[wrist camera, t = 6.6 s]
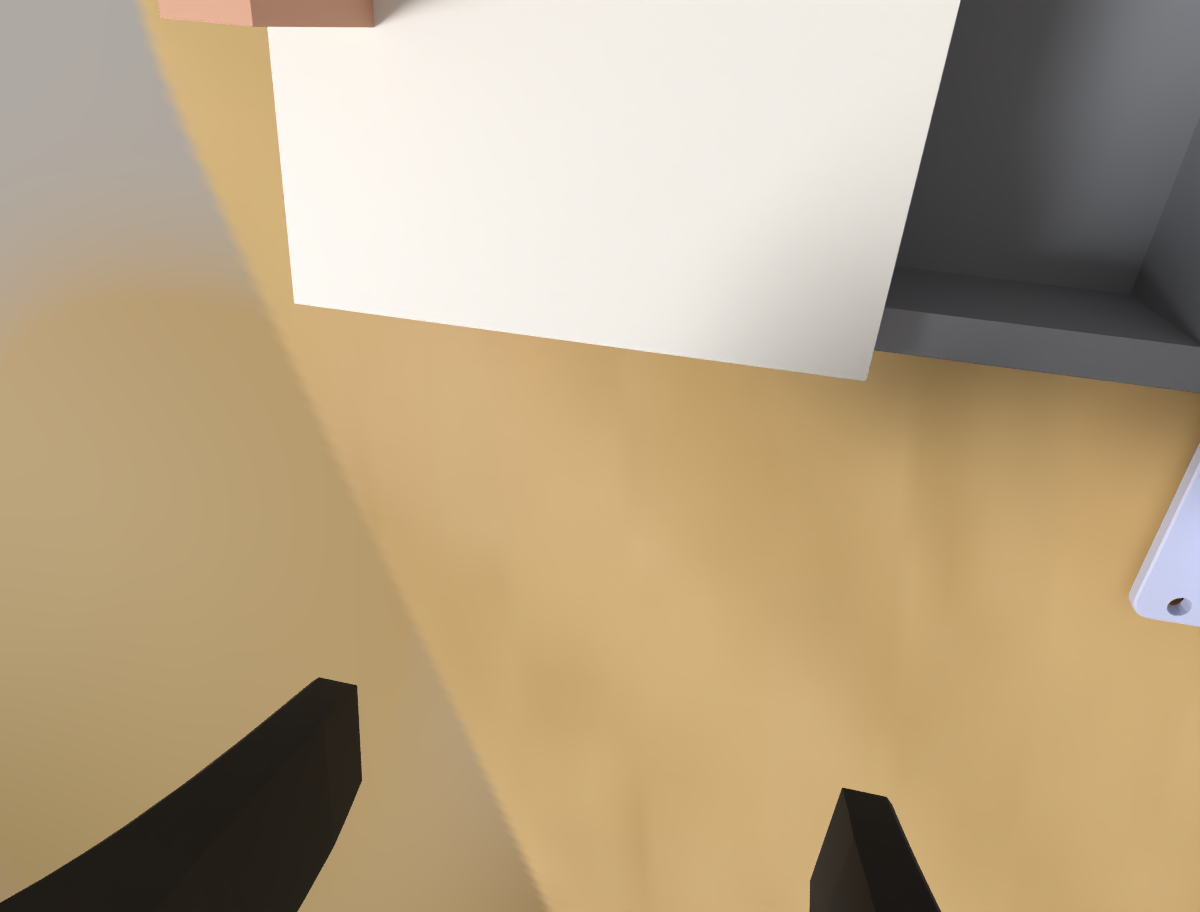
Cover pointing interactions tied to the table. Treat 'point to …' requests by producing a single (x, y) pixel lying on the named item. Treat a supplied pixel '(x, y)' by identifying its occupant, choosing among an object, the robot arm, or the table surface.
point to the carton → (1059, 195)
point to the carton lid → (605, 165)
